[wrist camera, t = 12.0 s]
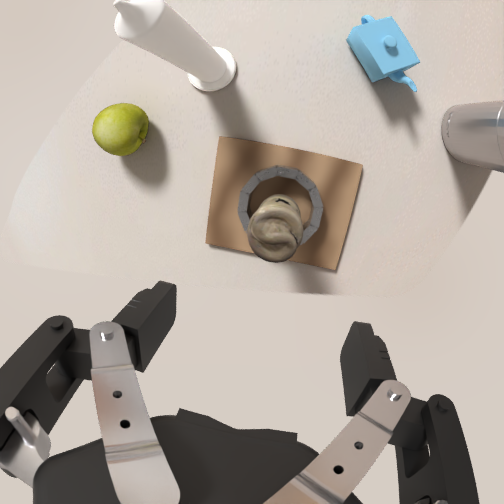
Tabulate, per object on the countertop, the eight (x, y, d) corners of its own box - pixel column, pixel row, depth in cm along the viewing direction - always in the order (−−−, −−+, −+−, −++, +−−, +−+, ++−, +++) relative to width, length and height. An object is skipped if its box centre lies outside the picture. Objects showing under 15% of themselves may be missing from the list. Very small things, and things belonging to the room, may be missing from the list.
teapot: (414, 91, 32) (436, 84, 25) (381, 104, 33) (399, 98, 26) (373, 23, 28) (387, 3, 21) (339, 34, 30) (348, 14, 23)
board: (361, 164, 37) (362, 165, 36) (334, 267, 43) (335, 269, 42) (221, 136, 38) (219, 136, 37) (207, 241, 44) (205, 243, 44)
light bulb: (260, 185, 39) (239, 211, 25) (299, 183, 38) (302, 207, 25) (264, 224, 41) (246, 269, 27) (302, 222, 40) (305, 267, 27)
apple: (153, 159, 41) (126, 165, 33) (108, 146, 41) (78, 150, 33) (167, 110, 38) (141, 106, 30) (119, 101, 38) (89, 97, 30)
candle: (231, 93, 36) (147, 39, 13) (184, 90, 36) (67, 52, 13) (240, 49, 33) (174, -43, 10) (193, 47, 33) (92, -24, 10)
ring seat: (327, 174, 37) (330, 177, 35) (310, 248, 42) (311, 256, 39) (248, 159, 38) (245, 160, 35) (236, 233, 42) (232, 240, 40)
